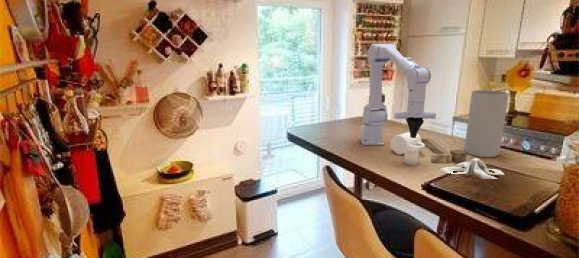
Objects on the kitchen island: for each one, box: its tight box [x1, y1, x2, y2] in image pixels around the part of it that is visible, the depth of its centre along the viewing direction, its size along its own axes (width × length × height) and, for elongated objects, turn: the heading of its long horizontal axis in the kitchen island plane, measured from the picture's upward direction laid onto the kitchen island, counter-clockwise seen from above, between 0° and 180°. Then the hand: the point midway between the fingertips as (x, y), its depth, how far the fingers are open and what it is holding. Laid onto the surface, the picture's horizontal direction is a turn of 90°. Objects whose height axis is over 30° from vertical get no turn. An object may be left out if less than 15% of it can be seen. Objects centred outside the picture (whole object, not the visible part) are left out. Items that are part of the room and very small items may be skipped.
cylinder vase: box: [463, 89, 510, 158], centre depth 131 cm, size 12×12×25 cm
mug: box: [390, 131, 426, 155], centre depth 135 cm, size 12×10×8 cm
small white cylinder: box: [403, 148, 420, 166], centre depth 124 cm, size 5×5×5 cm
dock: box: [421, 137, 452, 164], centre depth 135 cm, size 7×23×3 cm, turn 178°
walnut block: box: [449, 149, 468, 164], centre depth 125 cm, size 4×4×4 cm
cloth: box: [439, 157, 505, 179], centre depth 112 cm, size 22×19×6 cm
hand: (412, 137), depth 123 cm, fingers closed
